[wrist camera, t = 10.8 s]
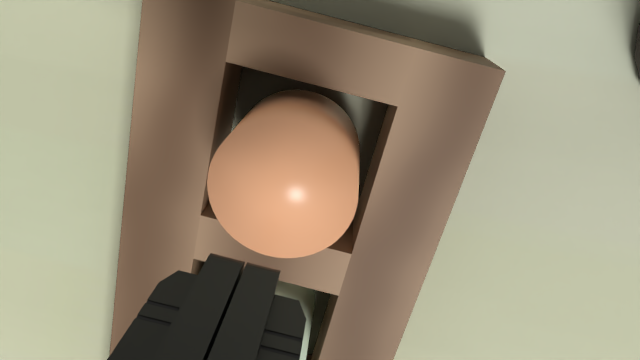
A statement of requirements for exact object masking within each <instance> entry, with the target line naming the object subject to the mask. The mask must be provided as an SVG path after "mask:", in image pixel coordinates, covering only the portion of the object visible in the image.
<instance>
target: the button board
mask: <svg viewBox="0 0 640 360" xmlns="http://www.w3.org/2000/svg"><path fill="white" fill-rule="evenodd" d="M243 66H244V67H248V68H252V69H255V70H259V71H263V72H267V73H271V74H275V75H278V76H282V77H286V78H290V79H294V80H298V81H302V82H305V83H309V84H313V85H317V86H321V87H325V88H328V89H332V90H336V91H340V92H344V93H348V94H351V95H355V96H359V97H363V98H367V99H371V100H374V101H378V102H382V103H386V104H388V107H387V110H386V114H385V117H384V120H383V123H382V127H381V130H380V133H379V137H378V140H377V143H376V147H375V150H374V153H373V156H372V160H371V163H370V166H369V170H368V173H367V176H366V179H365V183H364V186H363V189H362V193H361V196H360V199H359V202H358V206H357V209H356V212H355V216H354V219H353V220H352V222H351V223H350V225H349V227H348V228H347V230H346V231H345V232H344V234H343V235H342V236H341V237H340V238H339V239H338V240H337V241H336V242H334V243H333V244H332V245H330V246H329V247H327V248H325V249H324V250H322V251H320V252H317V253H315V254H312V255H308V256H305V257H298V258H276V257H271V256H267V255H263V254H260V253H257V252H255V251H253V250H251V249H249V248H247V247H245V246H244V245H242V244H241V243H239V242H238V241H237V240H235V239H234V238H233V237H232V236H231V235H230V234H229V233H228V232H227V231H226V230H225V229H224V228H223V227H222V225H221V224H220V222H219V221H218V219H217V218H216V216H215V214H214V212H213V210H212V207H211V204H210V201H209V196H208V188H207V179H208V171H209V167H210V163H211V161H212V159H213V156H214V154H215V153H216V151H217V149H218V148H219V146H220V145H221V144H222V143H223V141H224V140H225V139H226V138H227V137H228V135H229V134H230V133H231V129H232V123H233V117H234V112H235V106H236V101H237V95H238V89H239V84H240V78H241V72H242V67H243ZM505 72H506V71H504V70H503V69H502V68H500V67H499V66H497V65H496V64H494V63H493V62H491V61H490V60H488V59H487V58H485V57H482V56H478V55H475V54H471V53H467V52H463V51H459V50H456V49H452V48H448V47H444V46H440V45H437V44H433V43H429V42H425V41H421V40H418V39H414V38H410V37H406V36H402V35H398V34H395V33H391V32H387V31H383V30H379V29H376V28H372V27H368V26H364V25H360V24H357V23H353V22H349V21H345V20H341V19H338V18H334V17H330V16H326V15H322V14H319V13H315V12H311V11H307V10H303V9H300V8H296V7H292V6H288V5H284V4H280V3H277V2H273V1H269V0H143V1H142V12H141V23H140V34H139V44H138V55H137V66H136V77H135V87H134V98H133V109H132V120H131V130H130V141H129V152H128V163H127V173H126V184H125V195H124V206H123V216H122V227H121V238H120V248H119V259H118V270H117V281H116V291H115V302H114V313H113V324H112V334H111V345H110V355H111V353H112V352H113V350H114V349H115V347H116V346H117V344H118V343H119V341H120V340H121V338H122V337H123V335H124V334H125V332H126V331H127V329H128V328H129V326H130V325H131V323H132V322H133V320H134V319H135V318H137V314H138V313H139V311H140V310H141V308H142V307H143V305H144V304H145V303H146V302H147V299H148V298H149V296H150V295H151V293H152V292H153V290H154V289H155V287H156V286H157V284H158V283H159V282H160V281H162V280H163V279H165V278H167V277H168V276H170V275H172V274H173V273H175V272H176V271H178V270H180V271H184V272H188V273H192V274H196V275H198V274H199V272H200V270H201V269H202V267H203V265H204V263H205V261H206V260H207V258H208V256H209V255H210V253H213V254H217V255H221V256H225V257H229V258H233V259H237V260H241V261H245V266H246V264H247V262H249V263H253V264H257V265H261V266H265V267H269V268H273V269H277V270H281V271H280V276H279V281H283V282H287V283H291V284H295V285H299V286H303V287H307V288H310V289H314V290H318V291H322V292H326V293H330V294H331V295H330V298H329V301H328V304H327V308H326V311H325V314H324V318H323V321H322V324H321V328H320V331H319V334H318V337H317V341H316V344H315V347H314V351H313V354H312V355H308V354H307V356H306V360H393V359H394V356H395V354H396V351H397V349H398V346H399V343H400V341H401V338H402V336H403V333H404V331H405V328H406V325H407V323H408V320H409V318H410V315H411V313H412V310H413V308H414V305H415V302H416V300H417V297H418V295H419V292H420V290H421V287H422V284H423V282H424V279H425V277H426V274H427V272H428V269H429V266H430V264H431V261H432V259H433V256H434V254H435V251H436V249H437V246H438V243H439V241H440V238H441V236H442V233H443V231H444V228H445V225H446V223H447V220H448V218H449V215H450V213H451V210H452V208H453V205H454V202H455V200H456V197H457V195H458V192H459V190H460V187H461V184H462V182H463V179H464V177H465V174H466V172H467V169H468V167H469V164H470V161H471V159H472V156H473V154H474V151H475V149H476V146H477V143H478V141H479V138H480V136H481V133H482V131H483V128H484V126H485V123H486V120H487V118H488V115H489V113H490V110H491V108H492V105H493V102H494V100H495V97H496V95H497V92H498V90H499V87H500V84H501V82H502V79H503V77H504V74H505ZM245 266H244V268H245Z"/></svg>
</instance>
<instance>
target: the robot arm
mask: <svg viewBox="0 0 640 360" xmlns="http://www.w3.org/2000/svg"><path fill="white" fill-rule="evenodd" d="M244 266H245V261H241V260H237V259H233V258H229V257H225V256H221V255H217V254H213V253H210V255H209V256H208V258H207V260H206V261H205V263H204V265H203V267H202V269H201V270H200V272H199V274H198V275H196V274H192V273H188V272H184V271H180V270H178V271H176V272H175V273H173V274H172V275H170V276H168V277H167V278H165V279H163V280H162V281H160V282H159V283H158V284H157V286H156V287H155V289H154V290H153V292H152V293H151V295H150V296H149V298H148V299H147V302H146V303H145V304H144V305H143V307H142V308H141V310H140V311H139V313H138V314H137V318H135V319H134V320H133V322H132V323H131V325H130V326H129V328H128V329H127V331H126V332H125V334H124V335H123V337H122V338H121V340H120V341H119V343H118V344H117V346H116V347H115V349H114V350H113V352H112V353H111V355H110V356H109V358H108V359H107V360H300V354H301V348H302V341H303V336H304V330H305V324H306V317H305V314H304V312H303V309H302V307H301V304H300V301H299V300H295V299H291V298H287V297H284V296H280V295H276V294H275V292H276V288H277V284H278V280H279V276H280V271H281V270H277V269H273V268H269V267H265V266H261V265H257V264H253V263H249V262H247V264H246V266H245V268H244Z"/></svg>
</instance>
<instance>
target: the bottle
mask: <svg viewBox="0 0 640 360" xmlns="http://www.w3.org/2000/svg"><path fill="white" fill-rule="evenodd" d="M635 60H636V65H637V69H638V73H639V77H640V24H639V26H638V32H637V40H636V49H635Z"/></svg>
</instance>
